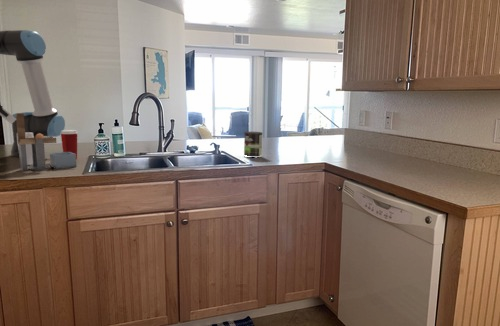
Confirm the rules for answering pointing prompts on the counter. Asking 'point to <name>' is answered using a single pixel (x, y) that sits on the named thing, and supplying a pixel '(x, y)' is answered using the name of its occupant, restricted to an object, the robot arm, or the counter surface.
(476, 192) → the counter surface
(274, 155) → the counter surface
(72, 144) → the coffee cup
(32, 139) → the lever
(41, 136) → the ball
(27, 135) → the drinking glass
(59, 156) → the grey rounded block
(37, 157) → the pivot stand
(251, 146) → the coffee can
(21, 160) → the post
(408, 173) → the counter surface
